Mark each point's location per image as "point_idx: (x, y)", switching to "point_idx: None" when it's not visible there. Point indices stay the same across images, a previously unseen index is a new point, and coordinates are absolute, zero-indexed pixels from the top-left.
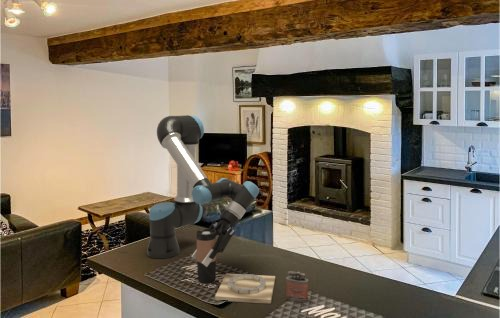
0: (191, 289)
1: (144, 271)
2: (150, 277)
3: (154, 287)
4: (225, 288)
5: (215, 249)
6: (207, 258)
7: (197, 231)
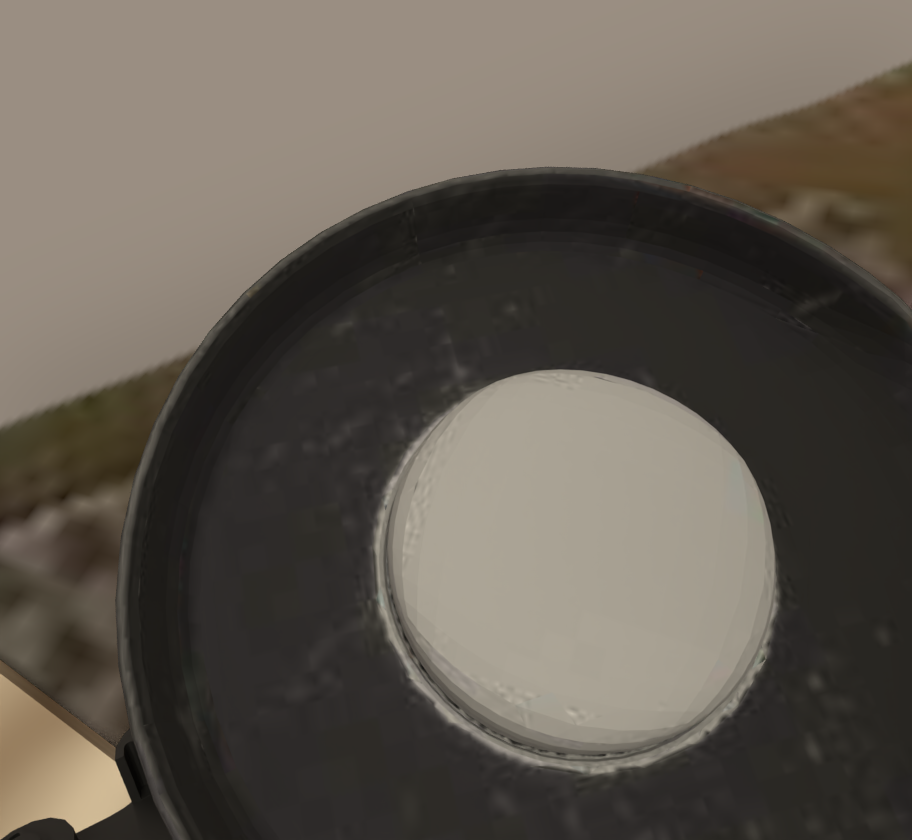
0: None
1: (897, 202)
2: None
3: None
4: (25, 821)
5: (143, 791)
6: None
7: (782, 240)
